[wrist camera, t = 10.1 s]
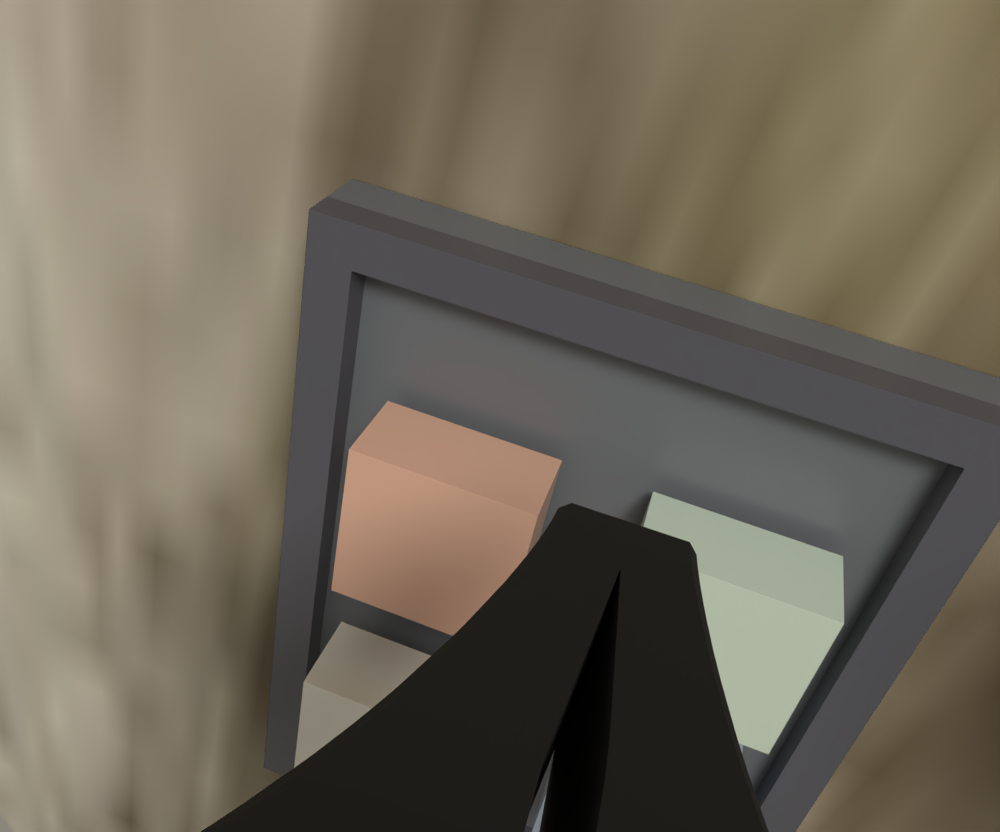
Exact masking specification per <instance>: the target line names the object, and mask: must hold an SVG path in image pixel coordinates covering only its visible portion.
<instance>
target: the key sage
mask: <svg viewBox="0 0 1000 832" xmlns="http://www.w3.org/2000/svg"><path fill="white" fill-rule="evenodd" d="M641 526H643V527H646V528H649V529H652V530H655V531H658V532H661V533H664V534H667V535H670V536H673V537H676V538H679V539H682V540H685V541H688V542H690V543H691V545H692V547H693V549H694V551H695V552H696V554H697V564H698V572H699V579H700V586H701V592H702V598H703V603H704V609H705V614H706V619H707V624H708V628H709V633H710V637H711V642H712V646H713V651H714V655H715V659H716V663H717V667H718V671H719V675H720V679H721V683H722V686H723V690H724V693H725V697H726V700H727V704H728V707H729V711H730V714H731V718H732V722H733V725H734V729H735V732H736V736H737V739H738V742H739V743H740V744H742V745H745V746H747V747H750V748H753V749H755V750H758V751H761V752H763V753H766V754H769V753H770V751H771V749H772V747H773V746H774V744H775V742H776V740H777V739H778V737H779V735H780V734H781V732H782V730H783V728H784V727H785V725H786V723H787V721H788V720H789V718H790V716H791V715H792V713H793V711H794V709H795V708H796V706H797V704H798V702H799V701H800V699H801V697H802V696H803V694H804V692H805V690H806V689H807V687H808V685H809V683H810V682H811V680H812V678H813V677H814V675H815V673H816V671H817V670H818V668H819V666H820V664H821V663H822V661H823V659H824V658H825V656H826V654H827V652H828V651H829V649H830V647H831V645H832V644H833V642H834V640H835V639H836V637H837V635H838V633H839V632H840V630H841V628H842V626H843V625H844V580H843V556H841V555H838V554H835V553H832V552H829V551H826V550H823V549H820V548H817V547H814V546H811V545H808V544H806V543H803V542H800V541H797V540H794V539H791V538H788V537H785V536H782V535H779V534H776V533H773V532H770V531H767V530H765V529H762V528H759V527H756V526H753V525H750V524H747V523H744V522H741V521H738V520H735V519H732V518H729V517H727V516H724V515H721V514H718V513H715V512H712V511H709V510H706V509H703V508H700V507H697V506H694V505H691V504H688V503H686V502H683V501H680V500H677V499H674V498H671V497H668V496H665V495H662V494H659V493H656V492H653V493H652V496H651V499H650V501H649V504H648V507H647V509H646V512H645V515H644V518H643V520H642V523H641Z"/></svg>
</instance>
